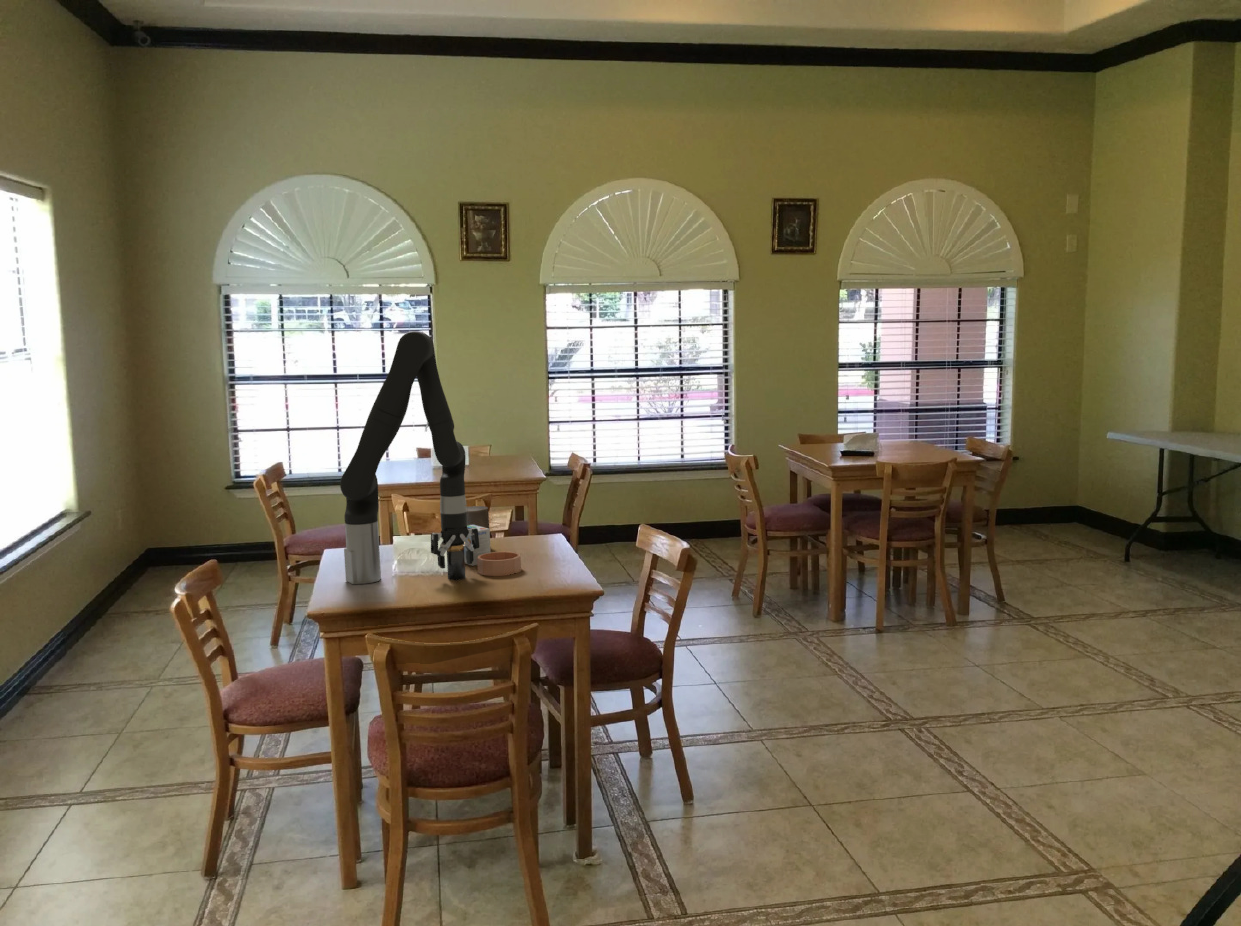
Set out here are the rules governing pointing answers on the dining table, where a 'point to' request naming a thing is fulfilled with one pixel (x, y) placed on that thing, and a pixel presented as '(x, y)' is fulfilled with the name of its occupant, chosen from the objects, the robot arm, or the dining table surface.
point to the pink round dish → (499, 563)
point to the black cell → (456, 562)
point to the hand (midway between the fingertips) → (456, 565)
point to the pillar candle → (478, 516)
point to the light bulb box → (483, 543)
